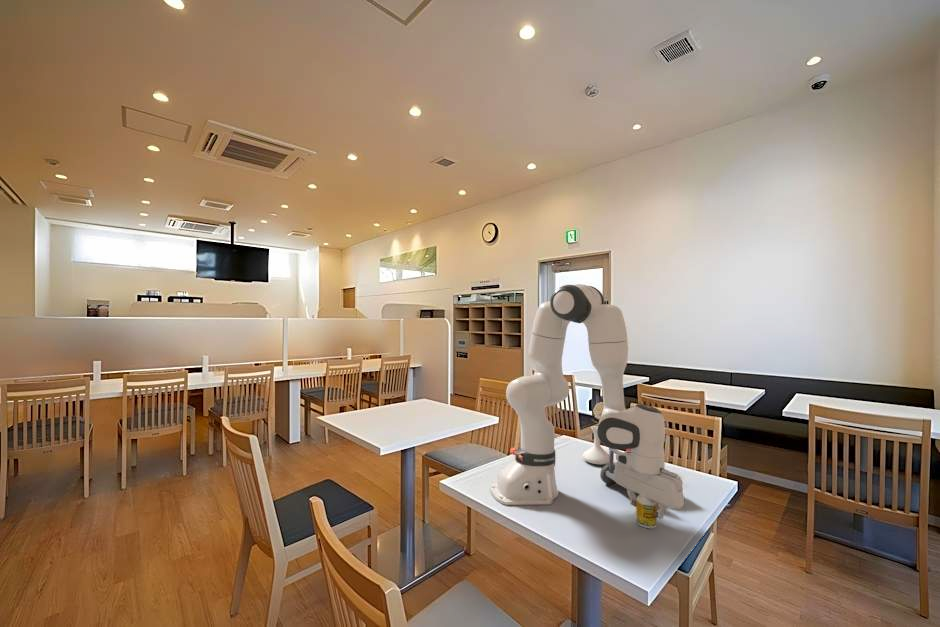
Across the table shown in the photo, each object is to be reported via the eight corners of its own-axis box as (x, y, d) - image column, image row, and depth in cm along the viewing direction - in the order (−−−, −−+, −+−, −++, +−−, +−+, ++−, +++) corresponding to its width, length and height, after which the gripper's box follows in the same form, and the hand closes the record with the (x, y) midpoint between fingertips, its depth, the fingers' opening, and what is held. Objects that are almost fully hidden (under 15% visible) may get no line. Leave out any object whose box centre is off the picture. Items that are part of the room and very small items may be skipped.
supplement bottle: (650, 519, 115) (651, 486, 115) (660, 529, 110) (661, 494, 110) (632, 519, 115) (633, 486, 115) (641, 529, 110) (642, 494, 110)
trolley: (631, 507, 122) (632, 460, 122) (600, 484, 139) (600, 443, 139) (682, 500, 127) (683, 456, 127) (646, 479, 144) (646, 440, 144)
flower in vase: (576, 461, 161) (577, 399, 161) (591, 454, 168) (592, 396, 168) (606, 471, 151) (607, 405, 151) (620, 463, 159) (622, 401, 159)
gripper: (689, 473, 105) (688, 525, 105) (625, 450, 123) (624, 494, 123) (674, 478, 102) (673, 531, 102) (611, 453, 120) (610, 498, 120)
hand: (646, 511), depth 113 cm, fingers open, 7 cm apart
